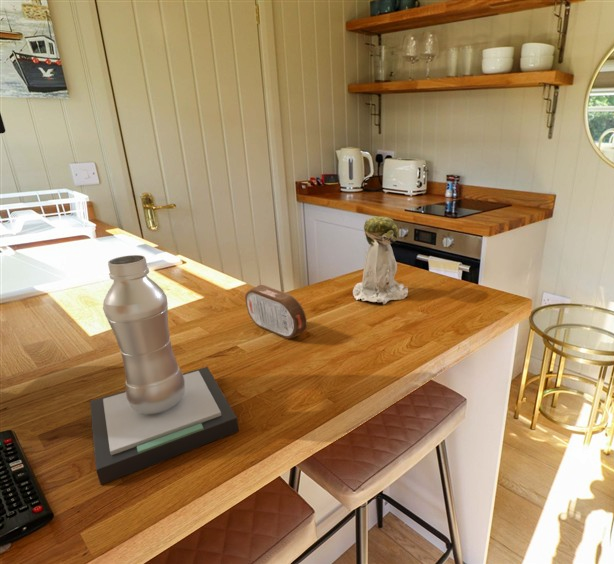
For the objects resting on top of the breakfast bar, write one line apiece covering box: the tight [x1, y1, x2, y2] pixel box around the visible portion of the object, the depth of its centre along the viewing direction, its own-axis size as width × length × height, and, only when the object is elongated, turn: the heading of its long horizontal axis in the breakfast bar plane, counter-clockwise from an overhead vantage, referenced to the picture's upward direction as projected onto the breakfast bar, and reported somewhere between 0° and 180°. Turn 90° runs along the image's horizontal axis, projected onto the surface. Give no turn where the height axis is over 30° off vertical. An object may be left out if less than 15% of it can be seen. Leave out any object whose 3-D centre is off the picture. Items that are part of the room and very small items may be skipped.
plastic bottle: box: [102, 254, 185, 414], centre depth 52 cm, size 6×7×20 cm
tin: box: [244, 284, 307, 340], centre depth 80 cm, size 15×3×8 cm, turn 54°
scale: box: [89, 366, 239, 486], centre depth 56 cm, size 15×15×3 cm
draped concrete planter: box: [352, 215, 409, 305], centre depth 97 cm, size 12×13×18 cm
